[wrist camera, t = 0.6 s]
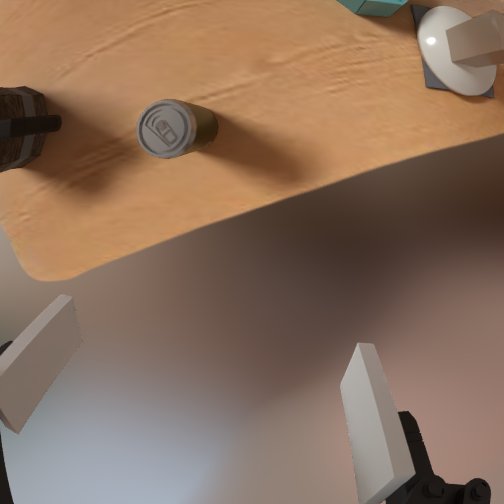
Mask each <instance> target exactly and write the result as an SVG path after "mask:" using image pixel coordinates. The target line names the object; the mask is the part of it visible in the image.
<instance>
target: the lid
mask: <svg viewBox="0 0 504 504" xmlns="http://www.w3.org/2000/svg"><path fill="white" fill-rule="evenodd" d="M417 42H418V46H419V50H420V53H421V55H422V58H423V60H424V62H425V64H426V65H427V67H428V68H429V70H430V71H431V73H432V74H433V75H434V76H435V78H436V79H437V80H438V81H439V82H440V83H442V84H443V85H444V86H445V87H447V88H448V89H449V90H451V91H453V92H455V93H458V94H461V95H466V96H472V95H480V94H483V93H485V92H486V91H488V90H489V89H490V87H491V86H492V84H493V83H494V80H495V77H496V70H497V66H496V65H497V64H503V63H504V14H502V13H499V12H497V11H494V10H492V11H489V12H487V13H484V14H482V15H479V16H477V17H474V18H471V17H470V16H469V15H467V14H466V13H464V12H462V11H460V10H458V9H456V8H453V7H449V6H438V7H435V8H433V9H431V10H429V11H428V12H426V13H425V14H424V15H423V16H422V17H421V19H420V21H419V23H418V27H417Z"/></svg>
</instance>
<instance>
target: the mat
mask: <svg viewBox="0 0 504 504" xmlns="http://www.w3.org/2000/svg"><path fill="white" fill-rule="evenodd" d="M411 8H412V12H413V16H414V21H415V25H416V30H417V27H418V23H419V21H420V19H421V17H422V16H423V15H424V14H425V13H426V12H428V11H429V10H431V9H433V8H428V7H424V6H419V5H413V4H412V5H411ZM421 56H422V55H421ZM422 62H423V69H424V76H425V84H426V87H431V88H439V89H446V90H449V89H448V88H447V87H445V86H444V85H443V84H442V83H440V82H439V81H438V80H437V79H436V78H435V76H434V75H433V74H432V73H431V71H430V70H429V68H428V67H427V65H426V64H425V62H424V60H423V58H422ZM480 95H481V96H486V97H491V98H494V91H493V84H492V86H491V87H490V89H489V90H488V91H486V92H485V93H483V94H480Z"/></svg>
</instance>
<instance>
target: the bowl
mask: <svg viewBox="0 0 504 504" xmlns="http://www.w3.org/2000/svg"><path fill="white" fill-rule="evenodd" d="M337 1H338V2H340V3H341V4H342V5H344V6H345V7H347V8H348V9H349V10H350V11H352V12H353V13H354V14H355V13H356V14H360V15H373V16H382V17H390V16H391V15H392V14H393V13H395V12H396V11H397V10H398V9H399V8H400V7H402V6H403V5H404V4H405V3H406V2H407V1H408V0H337Z"/></svg>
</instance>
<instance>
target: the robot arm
mask: <svg viewBox="0 0 504 504" xmlns="http://www.w3.org/2000/svg"><path fill="white" fill-rule="evenodd" d="M82 342H83V340H82V337H81V332H80V328H79V323H78V319H77V314H76V310H75V305H74V300H73V297H71V296H67V295H63V294H61V295H59V296H58V297H57V298H56V299H55V300H54V301H53V302H52V303H51V304H50V305H49V306H48V307H47V308H46V309H45V310H44V311H43V312H42V313H41V314H40V315H39V316H38V317H37V318H36V319H35V320H34V321H33V322H32V323H31V324H30V325H29V326H28V327H27V328H26V329H25V330H24V331H23V332H22V333H21V334H20V335H19V336H18V337H17V338H16V340H15V341H14V342H13V341H9V342H7V343H5V344H4V345H2V346H1V347H0V419H1V421H2V422H3V423H4V425H5V426H6V427H7V428H9V429H10V430H12V431H13V432H15V433H17V434H19V433H20V431H21V430H22V428H23V426H24V425H25V423H26V422H27V420H28V419H29V417H30V416H31V414H32V413H33V411H34V409H35V408H36V406H37V405H38V403H39V402H40V401H41V399H42V397H43V396H44V395H45V393H46V392H47V390H48V389H49V387H50V386H51V384H52V383H53V382H54V380H55V379H56V377H57V376H58V375H59V373H60V372H61V370H62V369H63V367H64V366H65V365H66V364H67V362H68V361H69V359H70V358H71V357H72V355H73V354H74V353H75V351H76V350H77V348H78V347H79V346H80V345H81V343H82ZM340 388H341V394H342V399H343V404H344V409H345V415H346V421H347V427H348V432H349V439H350V445H351V451H352V458H353V464H354V471H355V478H356V486H357V493H358V501H359V504H380V503H382V502H383V501H384V500H386V504H490V498H491V489H490V486H489V485H488V483H487V482H486V481H485V480H483V479H480V478H474V479H473V480H471V481H469V482H468V483H467V484H466V485H458V484H448V483H445V481H444V480H443V479H442V478H441V477H439V476H437V475H435V474H434V473H433V470H432V467H431V464H430V460H429V457H428V455H427V451H426V448H425V445H424V442H423V441H422V440H423V439H422V436H421V433H420V430H419V427H418V424H417V421H416V420H415V418H414V417H413V416H412V415H411V414H410V412H409V411H403V412H397V409H396V406H395V403H394V400H393V397H392V394H391V391H390V388H389V385H388V382H387V380H386V377H385V374H384V371H383V368H382V365H381V363H380V360H379V357H378V354H377V352H376V349H375V346H374V344H368V343H358V344H357V346H356V349H355V351H354V354H353V356H352V359H351V361H350V363H349V366H348V368H347V371H346V373H345V375H344V377H343V380H342V382H341V384H340ZM0 504H14V503H13V499H12V495H11V492H10V487H9V482H8V478H7V473H6V467H5V463H4V456H3V449H2V442H1V434H0Z"/></svg>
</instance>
